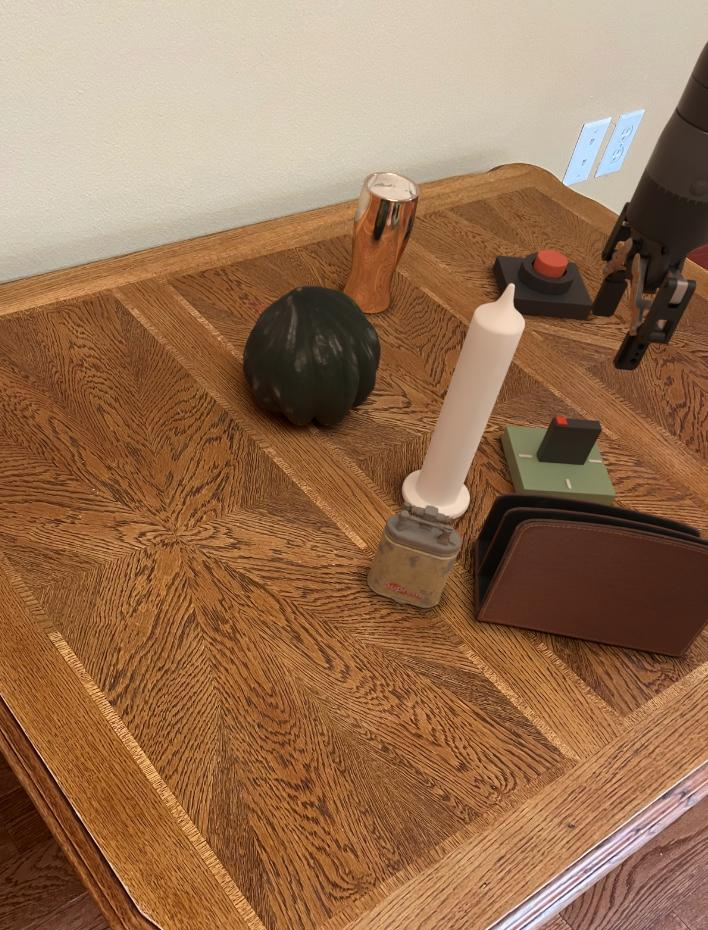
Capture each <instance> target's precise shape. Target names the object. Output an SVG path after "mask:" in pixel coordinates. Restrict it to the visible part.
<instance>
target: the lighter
mask: <svg viewBox="0 0 708 930" xmlns="http://www.w3.org/2000/svg"><path fill="white" fill-rule="evenodd" d="M453 520H454V519H453V518H452V517H451V518H450V516H448V515H447V516H446V515H445V514H441V513H438V508H436V507H434V506H430V505H427V506H426V507H425V508H422V507H416V506H415V505H413V506H412V505H411V503H409V502H405V501H403V502H402V504H401V507H400V512H399V513H395V514H392V515H390V516H389V517H388V518H387V520H386V523H385V525H384V527H383V530H382V533H381V536H380V540H379V543H378V545H377V548H376V552H375V555H374V558H373V561H372V564H371V566H370V567H371V568H370V570H369V572H368V574H367V578H366V582H367V585H368V587H369V588H370V590H372V591H373V593H375V594H377V595H379V596H383V597H386V598H389V599H392V600H393V601H394V602H395V603H396V604H399V605H406V604H408V605H411V606H415V607H418V608H421V609H429V608H433V607H435V606H436V605H438V604H439V603H440V600H441V597H442V593H443V591H444V589H445V587H446V584H447V581H448V579H449V577H450V574H451V572H452V569H453V567H454V565H455V562H456V560H457V558H458V556H459V554H460V548H461V546H462V544H463V543H462V542H463V540H462V537H461V535H460V534H459V532H458V531H457V530H456V529H454V528H453V526H451V525H452V522H453Z"/></svg>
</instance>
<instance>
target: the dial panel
mask: <svg viewBox="0 0 708 930" xmlns="http://www.w3.org/2000/svg"><path fill="white" fill-rule="evenodd" d="M547 429H548V428H546V427H545V428H543V427H530V426H518V425H516V426H515V425H505V428H504V430H503V433H502V435H501V438H500V442H501V446H502V449H503V453H504V456H505V460H506V463H507V467H508V471H509V474H510V478H511V482H512V485H513V489H514V493H526V494H540V495H549V496H557V497H565V498H572V499H578V500H584V501H590V502H596V503H601V504H607V505H612V503H613V502H614V500H615V498H616V496H617V493H616V492H615V491H616V490H615V489H614V485H613V483H612V481H611V478H610V475H609V471H608V470H607V467H606V464H605V462H604V459H603V456H602V454H601V453H602V452H601V451H600V448H599V445H598V442H597V441H596V442H595V444H594V446H593V448H592V450H591V452H590V454H589V456H588V458H587V460H586V462H585V464H584V465H577V464H563V463H550V462H539V459H538V456H537V451H538V449H539V447H540V444H541V442H542V440H543V438H544V436H545V434H546V431H547Z"/></svg>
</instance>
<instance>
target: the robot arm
mask: <svg viewBox="0 0 708 930" xmlns="http://www.w3.org/2000/svg"><path fill="white" fill-rule="evenodd" d="M620 242H624V243H623V245H622V246H620V247H619V248H616V247H617V245H618V244H619V243H620ZM707 244H708V40H707V41H706V43H705V44H704V46H703V48H702V49H701V51H700V53H699V56H698V58H697V60H696V62H695V64H694V66H693V69H692V71H691V74H690V76H689V78H688V79H687V82H686V85H685V86H684V89H683V91H682V94H681V95H680V98H679V100H678V103H677V104H676V107H675V108H674V110H673V112H672V114H671V116H670V117H669V119H668V120H667V122H666V124H665V126H664V127H663V129H662V131H661V132H660V135H659V137H658V139H657V141H656V143H655V145H654V148H653V150H652V152H651V154H650V157H649V159H648V161H647V164H646V165H645V168H644V170H643V172H642V174H641V176H640V179H639V181H638V183H637V185H636V188H635V189H634V192H633V194H632V197H631V199H630V201H626V202H625V203H624V206H623V207H622V210H621V211H620V214H619V216H618V217H617V220H616V221H615V224H614V226H613V228H612V230H611V232H610V234H609V237H608V239H607V240H606V243H605V245H604V247H603V249H602V252H601V256H600V259H601V262H606V264H605V266H604V268H603V271H602V272H603V273H602V275H603V277H604V278H603V279H602V280H603V281H602V283H601V284H600V287H599V289H598V291H597V293H596V296H595V298H594V300H593V301H592V303H593V304H592V307H591V313H592V315H593V316H594V317H602V318H611V317H613V316H614V315H615V314H616V313H615V312H616V311H617V309H618V306H619V305H620V303H621V300H622V298H623V296H624V294H625V292H626V290H627V288H628V286H629V284H630V293H629V298H628V307H629V308H630V309H631V310H632V314H631V319H630V324H629V329H628V330H627V331H626V334H625V336H624V337H623V340H622V342H621V343H620V346H619V347H618V350H617V351H616V354H615V356H614V358H613V359H612V363H613V366H614V368H615V369H616V370H622V371H634V370H636V369H638V367H639V366H640V364H641V362H642V360H643V359H644V357H645V355H646V353H647V350H648V348H649V347H650V346H651V344H657V345H658V344H659V345H668V344H669V343H670V341H671V339H672V337H673V335H674V334H675V331H676V330H677V327H678V326H679V323H680V322H681V319H682V318H683V316H684V313H685V312H686V309H687V307H688V306H689V303H690V302H691V299H692V298H693V295H694V294H695V292H696V289H697V281H696V280H695V279H688V278H685V277H684V276H683V274H682V273H683V270H684V265H685V262H686V259H687V257H688V255H689V254H690V253H692V252H693V251H695V250H697V249H699V248H702V247H704V246H706V245H707ZM627 280H629V282H630V283H628V281H627ZM643 295H653V296H654V295H655V297H654V299H646V298H644V297H643ZM645 310H646V311H648V312H647V314H646V316H645V318H644V312H645ZM643 319H644V320H643ZM664 321H665V323H664Z"/></svg>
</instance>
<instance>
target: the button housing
mask: <svg viewBox="0 0 708 930" xmlns="http://www.w3.org/2000/svg"><path fill="white" fill-rule="evenodd" d="M538 253H539V252H534V253H530V254H526V256H524V257H519V256H509V255H499V254H497V255H496V258H495V261H494V263H493V267H492V270H491V271H492V273H493V277H494V280H495V283H496V286H497V289H498V292H499V295H500V297H501V296H502V294H503V293H504V291H505V290H506V288H507V287H508V285H509V284H511V283H512V284H514V285H515V289H514V298H513V304H514V308H515V309H516V310H517V311H518V312H519V313H520V314H521V315H528V316H529V315H530V316H538V317H539V316H540V317H550V318H551V317H552V318H563V319H574V320H575V319H576V320H586V321H588V319H589V317H590V315H591V313H592V311H591V307H592V304H593V301H592V298H591V296H590V294H589V292H588V289H587V286H586V284H585V282H584V280H583V278H582V275H581V272H580V270H579V268H578V266H577V263H576V262H572V261H568V264H567V267H566V269H565V271H564V274H563V276H561V277H558V278H554V277H547V276H545V275H542V274H540V273H538V272H537V271H536V270H535V269H534V268H533V265H534V263H535V260H536V257H537V255H538Z"/></svg>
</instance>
